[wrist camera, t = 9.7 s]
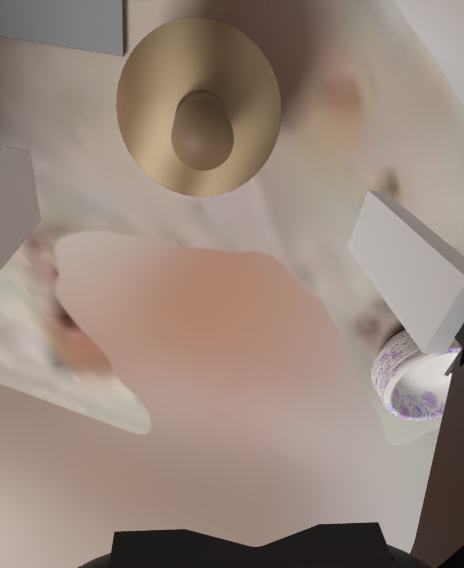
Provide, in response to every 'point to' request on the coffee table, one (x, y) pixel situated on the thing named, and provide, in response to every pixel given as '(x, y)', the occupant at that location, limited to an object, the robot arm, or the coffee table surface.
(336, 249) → the coffee table surface
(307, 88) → the coffee table surface
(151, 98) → the lid
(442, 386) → the paper bowls
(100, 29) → the mat
